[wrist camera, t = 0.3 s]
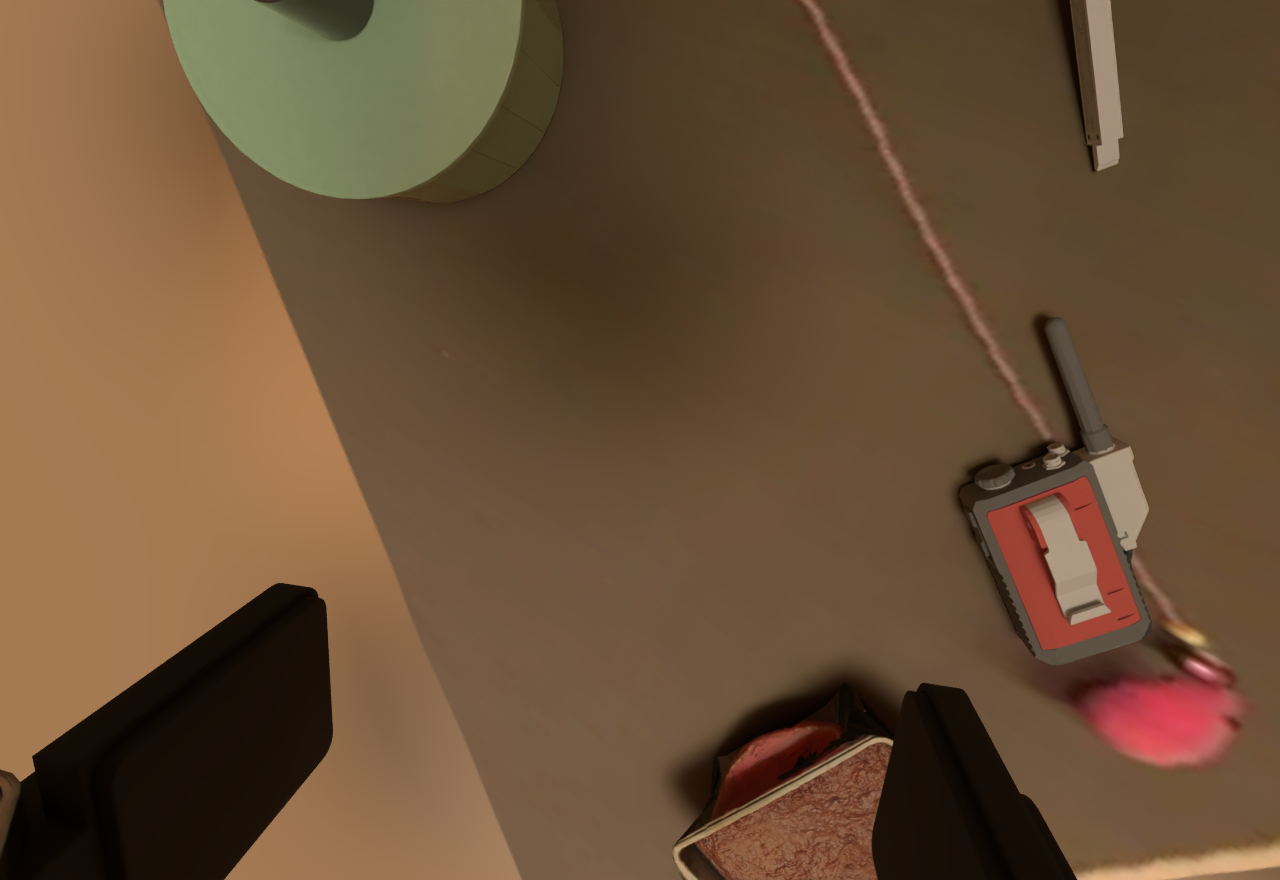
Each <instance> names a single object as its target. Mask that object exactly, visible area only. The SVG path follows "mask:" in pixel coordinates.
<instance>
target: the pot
mask: <svg viewBox="0 0 1280 880" xmlns="http://www.w3.org/2000/svg"><path fill="white" fill-rule="evenodd" d="M562 73H563V36H562V28H561V21H560V16H559V12H558V8H557V4H556V0H525V14H524V25H523V36H522V42H521V46H520V51H519V56H518V61H517V65H516V68H515V71H514V74H513V77H512V80H511V83H510V86H509V89H508V92H507V94H506V96H505V98H504V100H503V102H502V104H501V106H500V109H499V111H498V113H497V115H496V116H495V118H494V119H493V121H492V123H491V124H490V126H489V127H488V129H487V130H486V132H485V133H484V135H483V136H482V137H481V139H480V140H479V141H478V142H477V143H476V144H475V146H474V147H473V148H472V149H471V150H470V152H469V153H468V154H467V155H466V156H465V157H463V158H462V159H461V160H460V161H459V162H458V163H457V164H456V165H454V166H453V167H452V168H451V169H450V170H448V171H447V172H445V173H444V174H442V175H441V176H439V177H438V178H436V179H435V180H433V181H432V182H430V183H428V184H425V185H423V186H421V187H419V188H417V189H415V190H412V191H410V192H406V193H403V194H399V195H396V196H392V197H390V198H396V199H402V200H410V201H421V202H432V203H443V204H444V203H448V202H454V201H461V200H465V199H468V198H472V197H475V196H478V195H480V194H482V193H485V192H487V191H489V190H491V189H493V188H494V187H496V186H498V185H499V184H501V183H502V182H504V181H505V180H507V179H508V178H509V177H510V176H511V175H513V174H514V173H515V172H516V171H517V170H518V169H519V168H520V167H521V166H522V165H523V164H524V163H525V162H526V161H527V159H528V158H529V157H530V156H531V155H532V153H533V152H534V150H535V149H536V147H537V146H538V144H539V143H540V141H541V140H542V138H543V136H544V134H545V132H546V130H547V128H548V126H549V124H550V122H551V119H552V116H553V113H554V111H555V108H556V105H557V101H558V97H559V92H560V88H561V82H562Z"/></svg>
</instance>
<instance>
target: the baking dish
mask: <svg viewBox="0 0 1280 880" xmlns="http://www.w3.org/2000/svg"><path fill="white" fill-rule="evenodd" d="M894 737H895V736H894V735H893V734H892V732H891V731H890V730H889V729H888V728H887V727H886V726H885V725H884V724H883V722H882V721H881V720H880V719H879V718H878V717H877V716H876V715H875V713H874V712H873V711H872V710H871V709H870V708H869V707H868V706H867V704H866V703H865V702H864V701H863V700H862V699H861V698H860V697H859V696H858V694H857V693H856V692H855V691H854V690H853V689H852V688H851V687H850V685H848V684H846V683H843V685H842V688H841V689H840V690H839V691H838V692H837V693H836V694H835V696H834V697H833V698H832V699H831V700H830V701H829V702H828V703H827V704H826V705H824V706H823V707H821V708H820V709H818V710H817V711H816V712H814V713H813V714H811V715H810V716H808V717H807V718H805V719H804V720H802V721H801V722H800V723H798V724H797V725H795V726H794V727H792V728H790V729H789V728H787V727H783V728H780V729H778V730H775V731H773V732H769V733H765V734H761V735H758V736H757V737H755V738H754V739H753V740H752V741H750V742H749V743H747V744H745V745H744V746H742V747H740V748H738V749H737V750H735V751H733V752H732V753H730V754H728V755H726V756H720V757H713V772H712V787H711V797H710V799H709V801H708V803H707V804H706V806H705V808H704V810H703V812H702V813H701V815H700V816H699V817H698V818H697V819H696V820H695V822H694V823H693V824H692V825H691V826H690V827H689V829H688V830H687V831H686V832H685V833H684V834H683V836H682V837H681V838H680V839H679V840H678V841H677V843H676V844H675V845H674V846H673V859H674V862H675V864H676V866H677V869H678V871H679V874H680V875H681V877H682V878H683V880H878V879H877V875H876V870H875V866H874V862H873V856H872V831H873V826H874V822H875V817H876V813H877V809H878V805H879V800H880V796H881V792H882V788H883V783H884V779H885V775H886V771H887V766H888V762H889V758H890V754H891V749H892V745H893V741H894Z"/></svg>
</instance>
